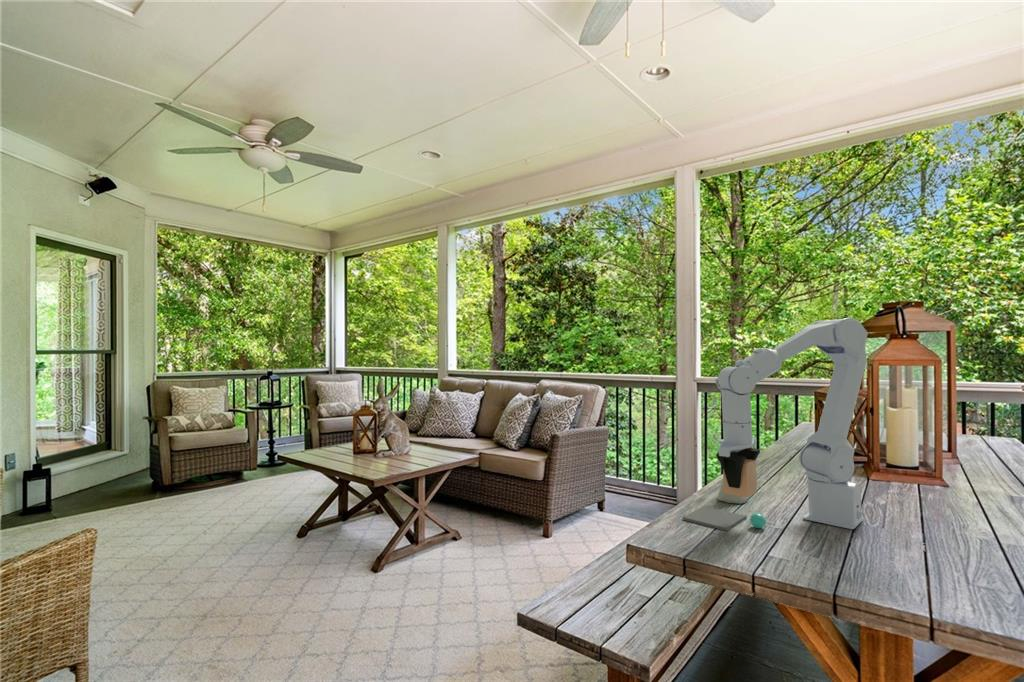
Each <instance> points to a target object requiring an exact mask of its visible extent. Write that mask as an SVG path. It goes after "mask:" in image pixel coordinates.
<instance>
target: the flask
mask: <svg viewBox="0 0 1024 682" xmlns="http://www.w3.org/2000/svg"><path fill="white" fill-rule="evenodd" d="M717 499H718V500H717V501H720V502H725V503H728V504H744V503H747V502H749V500H748V498H746V497H741V496H736V495H731V494H727V493H724V486H723V480H722V483H721V485H720V488H719V491H718V493H717Z"/></svg>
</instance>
